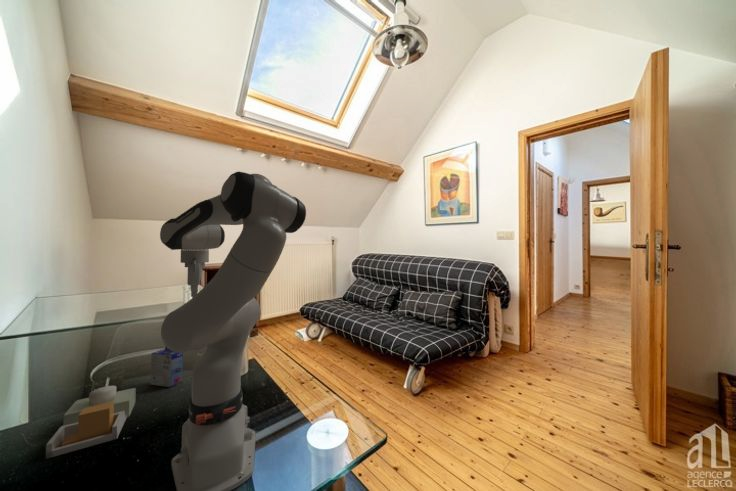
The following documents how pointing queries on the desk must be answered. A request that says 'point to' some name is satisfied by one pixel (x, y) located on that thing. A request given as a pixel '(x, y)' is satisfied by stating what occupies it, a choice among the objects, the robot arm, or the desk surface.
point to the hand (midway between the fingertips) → (194, 295)
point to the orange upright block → (93, 423)
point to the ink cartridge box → (166, 367)
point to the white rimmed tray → (121, 399)
